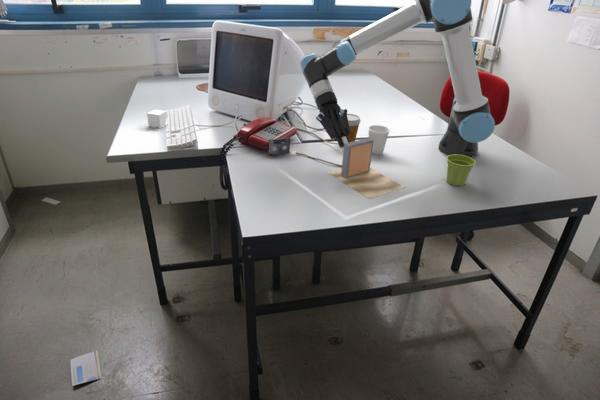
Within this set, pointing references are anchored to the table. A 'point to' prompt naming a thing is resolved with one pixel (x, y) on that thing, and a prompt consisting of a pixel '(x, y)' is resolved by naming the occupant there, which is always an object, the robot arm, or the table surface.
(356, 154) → the tile
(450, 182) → the plant pot
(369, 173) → the board
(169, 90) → the table surface
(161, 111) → the adhesive note
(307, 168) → the table surface
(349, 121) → the disposable coffee cup
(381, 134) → the dixie cup
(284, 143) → the mini dv tape
